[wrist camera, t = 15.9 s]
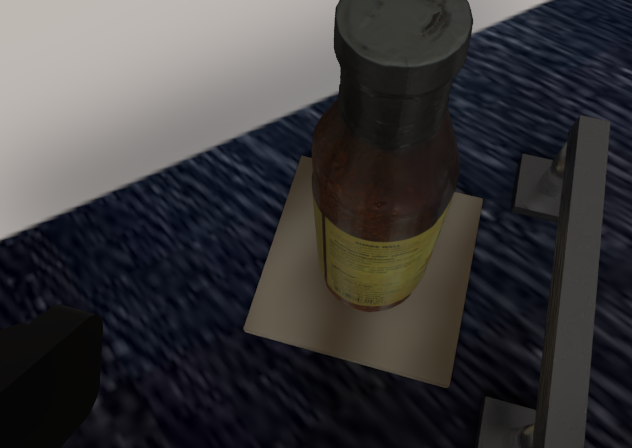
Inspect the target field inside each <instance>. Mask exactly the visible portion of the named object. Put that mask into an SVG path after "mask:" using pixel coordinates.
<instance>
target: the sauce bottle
mask: <svg viewBox="0 0 632 448" xmlns="http://www.w3.org/2000/svg"><path fill="white" fill-rule="evenodd" d="M472 25H473V18H472V13H471V9H470V5H469V3H468V1H467V0H340V1H339V3H338V5H337V6H336V12H335V26H334V50H335V54H336V58H337V60H338V62H339V64H340V67H341V75H340V79H341V81H340V85H339V94H338V99H337V100H336V101H335V102H334V103H333V104H332V105H331V106H330V107H329V108H328V109H327V110H326V111H325V113H324V114H323V115H322V117H321V118H320V120H319V122H318V124H317V125H316V128H315V130H314V132H313V144H312V165H313V172H312V195H313V206H314V217H315V227H316V239H317V251H318V261H319V267H320V271H321V274H322V276H323V278H324V280H325V282H326V285H327V288H328V289H329V291H330V292H331V293H332V294H333V295H334V296H335V297H336V298H337V299H338V300H339V301H341V302H342V303H344V304H345V305H348V306H350V307H353V308H355V309H357V310H361V311H364V312H376V311H381V310H387V309H391V308H393V307H395V306H397V305H399V304H401V303H403V302H404V301H405V300H406V299H407V298H408V297H409V296H410V295H411V293H412V291H413V290H414V289H415V288H416V287H417V286H418V284H419V283H420V281H421V279H422V277H423V275H424V273H425V270H426V267H427V265H428V262H429V260H430V257H431V255H432V252H433V249H434V246H435V243H436V241H437V238H438V236H439V233H440V231H441V228H442V224H443V223H444V220H445V217H446V214H447V211H448V209H449V206H450V204H451V201H452V198H453V195H454V192H455V189H456V186H457V182H458V177H459V171H460V159H459V152H458V148H457V143H456V139H455V135H454V131H453V127H452V123H451V118H450V114H449V110H448V100H449V99H448V97H449V93H450V89H451V85H452V82H453V78H454V77H455V76H456V75H457V74H458V73H459V71H460V70H461V68H462V66H463V65H464V62H465V59H466V56H467V52H468V47H469V41H470V38H471V33H472Z"/></svg>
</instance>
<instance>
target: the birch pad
mask: <svg viewBox="0 0 632 448" xmlns="http://www.w3.org/2000/svg"><path fill="white" fill-rule="evenodd" d="M312 172H313V165H312V158H309V157H305V156H301V159H300V162H299V165H298V168H297V171H296V174H295V177H294V180H293V183H292V186H291V189H290V192H289V195H288V198H287V201H286V204H285V207H284V210H283V213H282V216H281V219H280V222H279V225H278V228H277V231H276V234H275V237H274V240H273V243H272V245H271V248H270V251H269V254H268V257H267V260H266V263H265V266H264V269H263V272H262V275H261V278H260V281H259V284H258V287H257V290H256V293H255V296H254V299H253V302H252V305H251V308H250V311H249V314H248V317H247V320H246V323H245V326H244V330H245V332H247V333H251V334H255V335H258V336H262V337H265V338H269V339H272V340H276V341H280V342H283V343H287V344H290V345H294V346H297V347H301V348H305V349H308V350H312V351H315V352H319V353H322V354H326V355H330V356H333V357H337V358H340V359H344V360H348V361H351V362H355V363H358V364H362V365H365V366H369V367H373V368H376V369H380V370H383V371H387V372H390V373H394V374H398V375H401V376H405V377H408V378H412V379H416V380H419V381H423V382H426V383H430V384H433V385H437V386H441V387H444V388H448V387H449V386H450V381H451V375H452V369H453V364H454V358H455V353H456V347H457V341H458V336H459V330H460V325H461V319H462V313H463V308H464V302H465V297H466V291H467V285H468V280H469V274H470V269H471V263H472V257H473V252H474V246H475V241H476V235H477V229H478V224H479V218H480V213H481V207H482V201H483V199H482V198H478V197H474V196H470V195H465V194H461V193H457V192H454V195H453V198H452V201H451V204H450V206H449V209H448V211H447V214H446V217H445V220H444V223H443V224H442V228H441V231H440V233H439V236H438V238H437V241H436V243H435V246H434V249H433V252H432V255H431V257H430V260H429V262H428V265H427V267H426V270H425V273H424V275H423V277H422V279H421V281H420V283H419V284H418V286H417V287H416V288H415V289H414V290H413V291H412V293H411V295H410V296H409V297H408V298H407V299H406V300H405V301H404V302H403V303H401V304H399V305H397V306H395V307H393V308H391V309H387V310H381V311H376V312H364V311H361V310H357V309H355V308H353V307H350V306H348V305H345V304H344V303H342V302H341V301H339V300H338V299H337V298H336V297H335V296H334V295H333V294H332V293H331V292H330V291H329V289H328V288H327V285H326V282H325V280H324V278H323V276H322V274H321V271H320V267H319V261H318V251H317V239H316V227H315V217H314V206H313V195H312Z"/></svg>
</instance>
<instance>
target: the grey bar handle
mask: <svg viewBox="0 0 632 448" xmlns="http://www.w3.org/2000/svg"><path fill="white" fill-rule="evenodd" d="M609 131H610V122H609V121H604V120H600V119H595V118H590V117H586V116H581V115H580V116H579V118H578V119H577V120H576V122H575V123H574V125H573V126H572V127H571V129H570V130H569V132H568V140H567V142H566V143H565V145H564V146H563V148H562V149H561V150H560V152H559V153H558V154H557V156H556V157H555V159H554V160H549V159H545V158H540V157H536V156H532V155H527V154H522V155H521V157H520V159H519V162H518V168H517V175H516V181H515V188H514V194H513V200H512V207H511V212H515V213H519V214H523V215H527V216H531V217H535V218H540V219H544V220H548V221H552V222H556V223H558V226H557V234H556V243H555V252H554V260H553V269H552V277H551V286H550V295H549V303H548V312H547V321H546V329H545V338H544V346H543V355H542V364H541V372H540V381H539V389H538V398H537V407H536V410H533V409H530V408H526V407H523V406H519V405H515V404H512V403H508V402H505V401H501V400H498V399H494V398H490V397H487V396H485V397H483V398H482V401H481V407H480V414H479V420H478V427H477V433H476V440H475V446H474V448H584V439H585V426H586V414H587V402H588V389H589V377H590V365H591V353H592V340H593V328H594V316H595V303H596V291H597V279H598V266H599V254H600V242H601V229H602V217H603V205H604V192H605V180H606V168H607V155H608V143H609Z"/></svg>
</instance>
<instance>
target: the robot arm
mask: <svg viewBox="0 0 632 448" xmlns="http://www.w3.org/2000/svg"><path fill="white" fill-rule="evenodd" d="M102 333H103V323H102V319H101V317H100V316H99V315H96V314H92V313H89V312H85V311H82V310H78V309H75V308H71V307H68V306H64V305H60V304H59V305H55V306H53V307H51V308H50V309H49V310H47V311H46V312H45V313H43V314H42V315H41V316H39V317H38V318H36V319H35V320H34V321H32V322H31V323H30V324H28V325H25V324H22V323H19V324H16V325H14V326H11V327H8V328H6V329H3V330H0V448H61V446H62V445H63V444H64V443H65V442H66V441H67V440H68V438H69V437H70V436H71V435H72V434H73V433H74V432H75V431H76V429H77V428H78V427H79V426H80V425H81V424H82V423H83V421H84V420H85V419H86V418H87V416H88V415H89V413H90V411H91V409H92V407H93V405H94V403H95V401H96V398H97V395H98V391H99V385H100V369H101V351H102Z"/></svg>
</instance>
